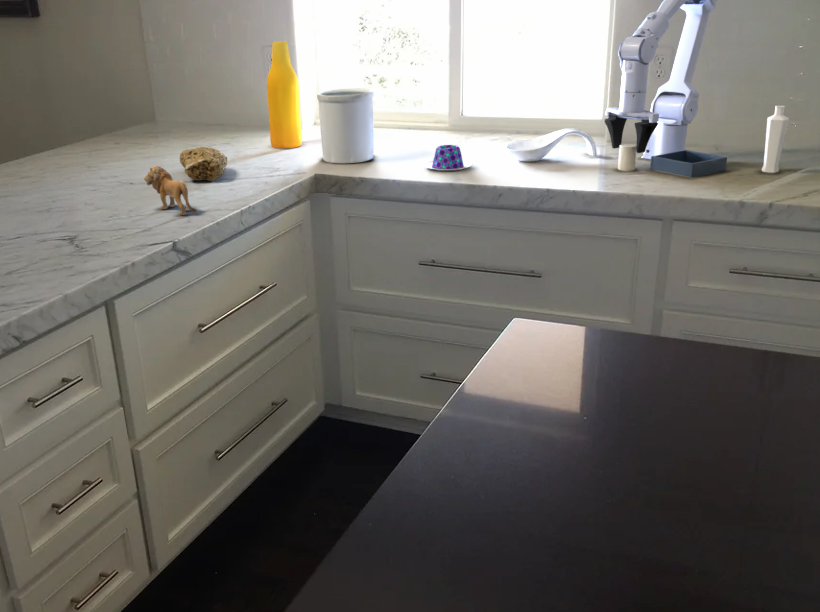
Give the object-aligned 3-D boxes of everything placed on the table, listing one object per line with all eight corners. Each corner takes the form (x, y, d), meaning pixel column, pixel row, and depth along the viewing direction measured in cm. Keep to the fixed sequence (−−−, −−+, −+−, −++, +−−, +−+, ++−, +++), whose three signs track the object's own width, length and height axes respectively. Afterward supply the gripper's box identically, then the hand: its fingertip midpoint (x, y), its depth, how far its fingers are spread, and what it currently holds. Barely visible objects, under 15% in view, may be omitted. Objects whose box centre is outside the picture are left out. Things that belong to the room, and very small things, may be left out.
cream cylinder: (614, 170, 209) (616, 145, 207) (623, 168, 211) (625, 143, 209) (629, 172, 206) (631, 147, 204) (638, 170, 209) (640, 145, 206)
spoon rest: (512, 165, 218) (513, 136, 216) (498, 156, 229) (499, 129, 226) (602, 159, 221) (604, 131, 218) (584, 151, 232) (586, 124, 229)
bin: (649, 170, 208) (651, 156, 207) (683, 163, 213) (685, 149, 212) (690, 178, 198) (692, 163, 197) (725, 171, 204) (727, 157, 203)
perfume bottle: (783, 174, 199) (794, 107, 193) (762, 174, 200) (772, 107, 194) (778, 170, 203) (788, 104, 197) (758, 170, 204) (768, 104, 198)
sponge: (228, 186, 213) (233, 154, 229) (218, 157, 209) (225, 126, 225) (177, 197, 214) (186, 165, 230) (166, 168, 210) (176, 137, 226)
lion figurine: (144, 208, 190) (139, 167, 187) (163, 203, 194) (158, 162, 190) (188, 217, 181) (183, 174, 178) (207, 212, 185) (202, 170, 182)
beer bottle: (274, 143, 260) (267, 40, 248) (304, 142, 258) (299, 40, 247) (267, 148, 251) (260, 43, 240) (298, 148, 250) (292, 42, 239)
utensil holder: (311, 163, 230) (307, 94, 223) (333, 152, 243) (330, 87, 236) (362, 165, 225) (360, 95, 218) (382, 154, 238) (381, 88, 231)
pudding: (439, 161, 227) (439, 140, 224) (480, 165, 220) (480, 144, 218) (415, 169, 218) (414, 148, 216) (457, 174, 211) (457, 152, 209)
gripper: (598, 90, 205) (593, 147, 211) (645, 95, 194) (640, 156, 199) (619, 87, 209) (614, 144, 214) (667, 92, 197) (661, 152, 203)
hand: (628, 150), depth 207 cm, fingers open, 7 cm apart
